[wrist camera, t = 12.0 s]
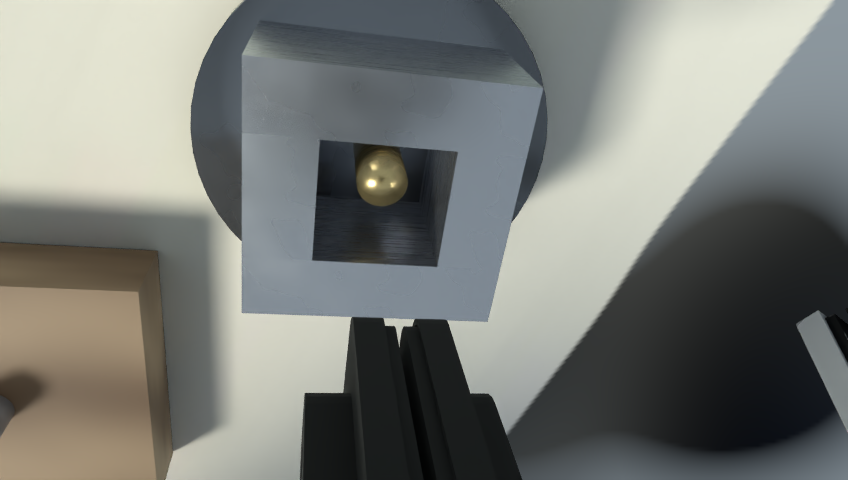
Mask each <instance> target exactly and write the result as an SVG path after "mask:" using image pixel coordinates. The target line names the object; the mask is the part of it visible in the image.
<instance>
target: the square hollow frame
mask: <svg viewBox="0 0 848 480" xmlns="http://www.w3.org/2000/svg"><path fill="white" fill-rule="evenodd" d="M542 92H543V87H542V86H541V85H540V84H538V83H537V82H536V81H535V80H534V79H533V78H532V77H531V76H530V75H529V74H528V73H527V72H526V71H525V70H524V69H523V68H522V67H521V66H520V65H519V64H518V63H517V62H515V61H514V60H513V59H512V58H511V57H510V56H509V55H508V54H507V53H506V52H505V51H504V50H502V49H493V48H485V47H477V46H469V45H460V44H452V43H444V42H436V41H427V40H419V39H411V38H403V37H394V36H386V35H378V34H370V33H361V32H353V31H345V30H337V29H328V28H320V27H312V26H304V25H296V24H287V23H279V22H271V21H263V20H259V22H258V24H257V26H256V28H255V30H254V32H253V34H252V36H251V38H250V40H249V42H248V44H247V46H246V48H245V50H244V52H243V53H242V313H259V314H287V315H315V316H343V317H376V318H399V319H445V320H455V321H483V322H488V317H489V313H490V309H491V305H492V301H493V297H494V292H495V288H496V284H497V280H498V276H499V272H500V267H501V263H502V259H503V255H504V251H505V246H506V242H507V238H508V234H509V230H510V226H511V221H512V217H513V213H514V209H515V205H516V201H517V196H518V192H519V188H520V184H521V180H522V175H523V171H524V167H525V163H526V159H527V155H528V150H529V146H530V142H531V138H532V134H533V130H534V125H535V121H536V117H537V113H538V109H539V104H540V100H541V96H542ZM320 140H330V141H341V142H353V143H364V144H376V145H387V146H398V147H410V148H421V149H427V155H426V161H425V168H424V174H423V181H422V187H421V194H420V200H419V202H405V201H397V202H396V203H394V204H391V205H388V206H375V205H372V204H370V203H368V202H366V201H365V200H364V199H363V198H349V197H335V196H321V195H316V192H317V176H318V161H319V145H320Z"/></svg>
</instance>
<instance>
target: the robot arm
mask: <svg viewBox="0 0 848 480" xmlns="http://www.w3.org/2000/svg"><path fill="white" fill-rule="evenodd" d="M300 480H522V478H521V475H520V472H519V469H518V467H517V464H516V461H515V458H514V455H513V453H512V450H511V447H510V444H509V441H508V439H507V436H506V433H505V430H504V427H503V425H502V422H501V419H500V416H499V413H498V411H497V408H496V405H495V402H494V400H493V398H492V397H491V396H490V395H489V394H470V391H469V388H468V385H467V382H466V378H465V375H464V372H463V369H462V366H461V363H460V359H459V356H458V353H457V350H456V347H455V343H454V340H453V337H452V334H451V331H450V327H449V324H448V322H447V320H445V319H415V320H414V323H413V327H405V326H404V327H403V329H402V333H401V340H400V347H399V344H398V339H397V333H396V328H395V326H385V323H384V319H383V318H376V317H352V318H351V324H350V333H349V343H348V352H347V362H346V372H345V381H344V391H343V393H305V397H304V411H303V427H302V444H301V466H300Z"/></svg>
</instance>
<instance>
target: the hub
mask: <svg viewBox="0 0 848 480" xmlns="http://www.w3.org/2000/svg"><path fill="white" fill-rule="evenodd" d="M259 20H263V21H271V22H279V23H287V24H296V25H304V26H312V27H320V28H328V29H337V30H345V31H353V32H361V33H370V34H378V35H386V36H394V37H403V38H411V39H419V40H427V41H436V42H444V43H452V44H460V45H469V46H477V47H485V48H493V49H502V50H504V51H505V52H506V53H507V54H508V55H509V56H510V57H511V58H512V59H513V60H514V61H515V62H517V63H518V64H519V65H520V66H521V67H522V68H523V69H524V70H525V71H526V72H527V73H528V74H529V75H530V76H531V77H532V78H533V79H534V80H535V81H536V82H537V83H538V84H540V85H541V86H542V87H543V83H542V78H541V74H540V72H539V69H538V66H537V64H536V61H535V58H534V56H533V53H532V51H531V49H530V48H529V46H528V44H527V42H526V40H525V38H524V36H523V35H522V33H521V31H520V30H519V29H518V27H517V26H516V25H515V23H514V22H513V21H512V19H511V18H510V17H509V15H508V14H507V13H506V12H505V11H504V10H503V9H502V8H501V7H500V6H499V5H498V4H497V3H496V2H495V1H494V0H243V1H242V2H241V3H240V5H239V6H238V7H237V8H236V9H235V10H234V11H233V13H232V14H231V15H230V16H229V18H228V19H227V21H226V22H225V23H224V25H223V26H222V28H221V29H220V30H219V32H218V33H217V35H216V36H215V37H214V39H213V41H212V43H211V45H210V47H209V49H208V51H207V53H206V55H205V57H204V59H203V62H202V65H201V68H200V71H199V74H198V76H197V79H196V82H195V88H194V93H193V99H192V105H191V138H192V147H193V154H194V158H195V162H196V165H197V169H198V173H199V176H200V178H201V181H202V183H203V186H204V188H205V191H206V193H207V195H208V197H209V199H210V200H211V202H212V204H213V206H214V207H215V209H216V211H217V212H218V214H219V215H220V217H221V218H222V219H223V221H224V222H225V223H226V224H227V226H228V227H229V228H230V230H231V231H232V232H233V233H234V234H235V235H236V236H237V237H238V238H239V239H240V240H241V241H242V53H243V52H244V50H245V48H246V46H247V44H248V42H249V40H250V38H251V36H252V34H253V32H254V30H255V28H256V26H257V24H258V22H259ZM546 134H547V108H546V96H545V92H544V87H543V92H542V96H541V100H540V104H539V109H538V113H537V117H536V121H535V125H534V130H533V134H532V138H531V142H530V146H529V150H528V155H527V159H526V163H525V167H524V171H523V175H522V180H521V184H520V188H519V192H518V196H517V201H516V205H515V209H514V213H513V217H512V221H513V220H514V219H515V217H516V216H517V215H518V213H519V211H520V210H521V208H522V207H523V205H524V203H525V202H526V200H527V198H528V196H529V194H530V192H531V190H532V188H533V186H534V183H535V181H536V179H537V176H538V172H539V169H540V166H541V163H542V160H543V154H544V149H545V143H546ZM426 155H427V149H421V148H410V147H398V146H387V145H376V144H364V143H353V142H341V141H330V140H320V145H319V161H318V176H317V192H316V195H321V196H335V197H349V198H363V199H364V200H365V201H366V202H368V203H370V204H372V205H375V206H388V205H391V204H394V203H396V202H397V201H405V202H419V200H420V194H421V187H422V181H423V174H424V168H425V161H426ZM512 221H511V222H512Z"/></svg>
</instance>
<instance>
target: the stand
mask: <svg viewBox="0 0 848 480" xmlns="http://www.w3.org/2000/svg"><path fill="white" fill-rule="evenodd" d="M172 454H173V448H172V434H171V421H170V408H169V395H168V382H167V369H166V356H165V343H164V330H163V316H162V303H161V290H160V277H159V264H158V251H151V250H132V249H113V248H94V247H75V246H57V245H38V244H19V243H0V480H165V479H166V476H167V472H168V468H169V465H170V461H171V457H172Z"/></svg>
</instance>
